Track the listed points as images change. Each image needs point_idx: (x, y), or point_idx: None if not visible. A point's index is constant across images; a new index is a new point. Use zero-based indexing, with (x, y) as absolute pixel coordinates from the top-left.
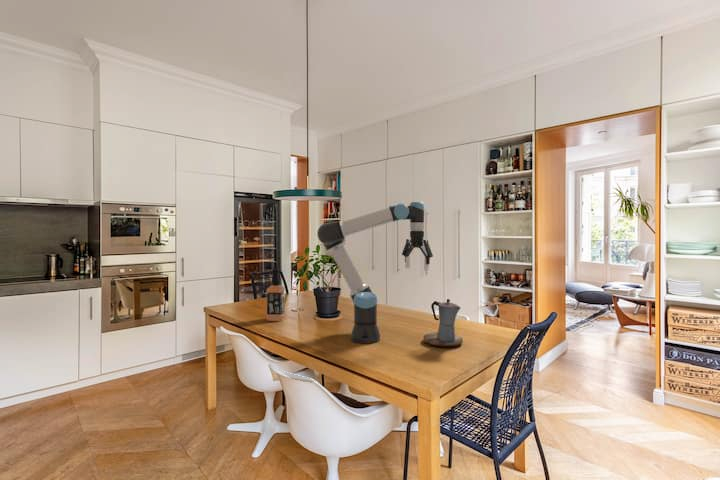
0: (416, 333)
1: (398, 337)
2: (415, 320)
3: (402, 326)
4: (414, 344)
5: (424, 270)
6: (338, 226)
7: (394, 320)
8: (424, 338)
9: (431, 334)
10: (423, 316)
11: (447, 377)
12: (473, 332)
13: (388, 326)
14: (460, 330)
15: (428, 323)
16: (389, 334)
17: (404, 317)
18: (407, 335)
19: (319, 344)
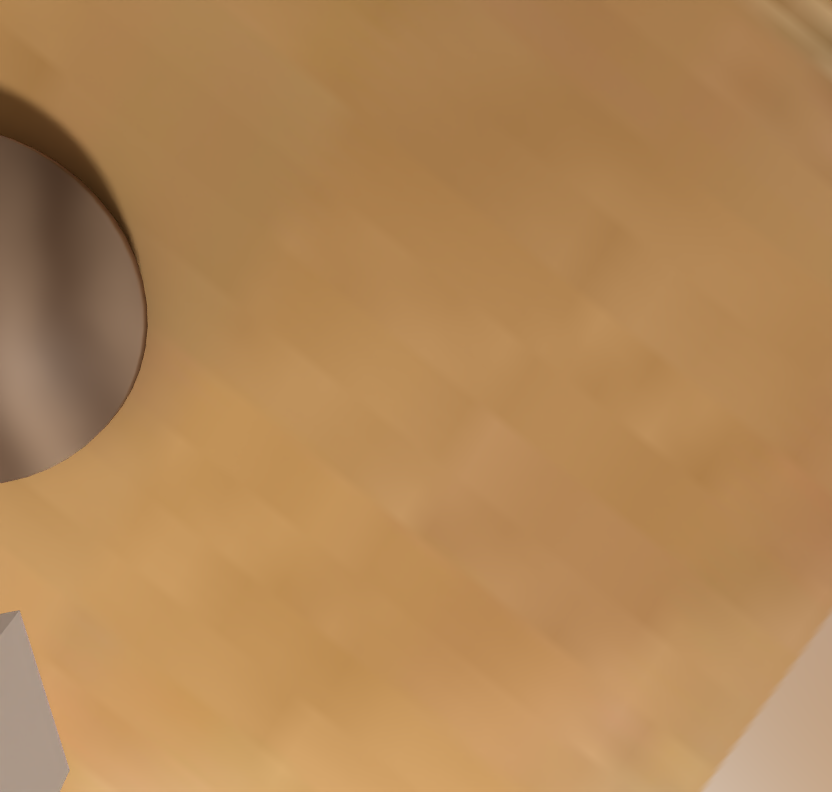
0: (332, 293)
1: (307, 56)
2: (679, 557)
3: (587, 329)
4: (45, 41)
5: (5, 614)
6: None
7: (791, 394)
8: (6, 138)
9: (86, 285)
10: (742, 698)
11: None
12: (117, 731)
13: (660, 213)
14: (218, 681)
15: (537, 593)
16: (434, 43)
17: (816, 536)
18: (320, 176)
19: None
